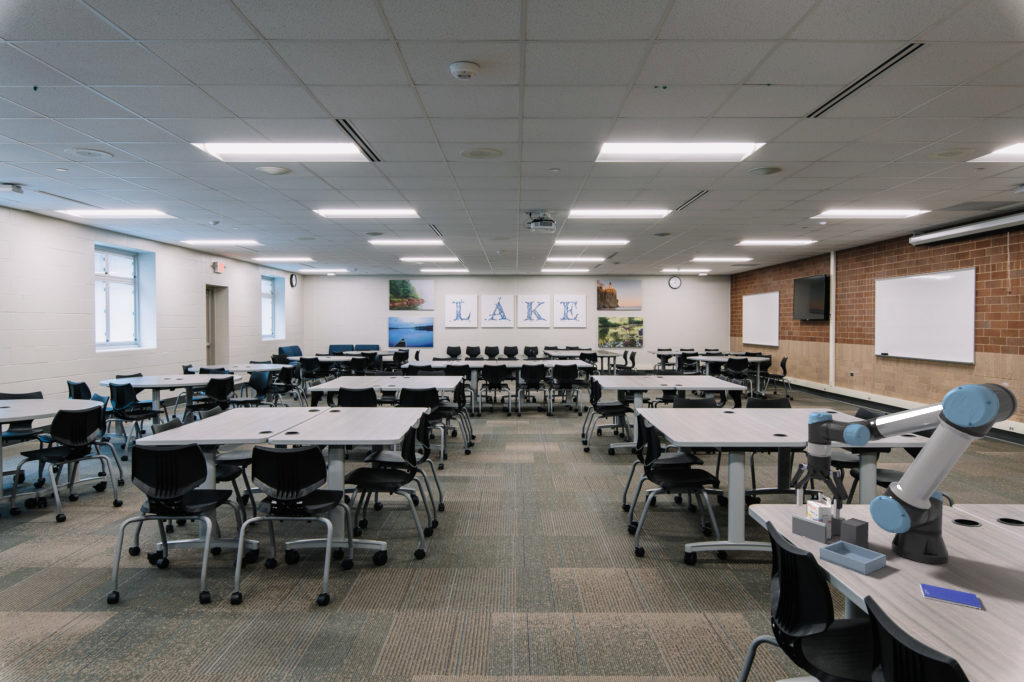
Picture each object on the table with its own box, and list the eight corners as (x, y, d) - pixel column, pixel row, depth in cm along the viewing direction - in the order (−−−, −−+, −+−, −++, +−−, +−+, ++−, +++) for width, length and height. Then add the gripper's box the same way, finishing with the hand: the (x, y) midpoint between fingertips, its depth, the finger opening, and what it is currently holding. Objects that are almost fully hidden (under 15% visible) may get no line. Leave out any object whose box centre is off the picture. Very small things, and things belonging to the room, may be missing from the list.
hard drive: (923, 594, 149) (981, 606, 142) (919, 582, 156) (975, 593, 149) (923, 599, 149) (981, 612, 142) (919, 587, 156) (974, 598, 149)
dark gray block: (868, 548, 183) (868, 522, 183) (855, 552, 179) (856, 526, 179) (852, 543, 187) (853, 517, 187) (840, 547, 183) (840, 521, 183)
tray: (886, 566, 169) (886, 555, 169) (864, 575, 162) (865, 563, 162) (841, 550, 181) (841, 540, 181) (819, 558, 174) (819, 548, 174)
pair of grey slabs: (845, 536, 193) (845, 518, 193) (824, 543, 186) (824, 524, 186) (812, 526, 203) (812, 508, 203) (791, 532, 197) (792, 514, 197)
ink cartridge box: (805, 530, 199) (805, 491, 199) (818, 530, 199) (819, 491, 199) (817, 539, 191) (818, 498, 190) (831, 539, 191) (832, 498, 190)
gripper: (860, 460, 186) (859, 520, 186) (792, 446, 207) (791, 499, 208) (849, 463, 182) (847, 524, 182) (781, 448, 203) (779, 503, 204)
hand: (817, 511), depth 195 cm, fingers open, 13 cm apart
